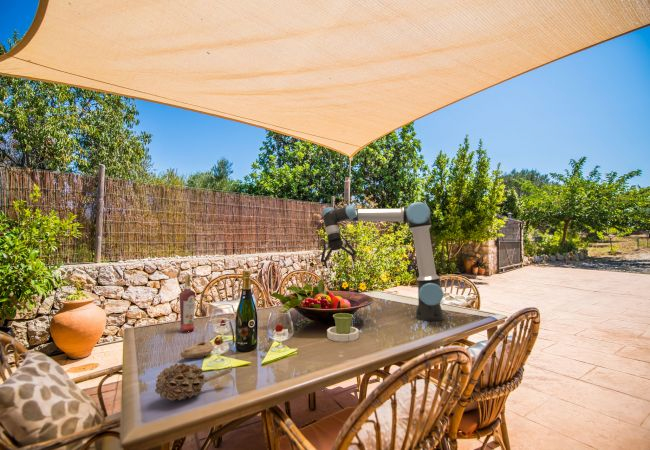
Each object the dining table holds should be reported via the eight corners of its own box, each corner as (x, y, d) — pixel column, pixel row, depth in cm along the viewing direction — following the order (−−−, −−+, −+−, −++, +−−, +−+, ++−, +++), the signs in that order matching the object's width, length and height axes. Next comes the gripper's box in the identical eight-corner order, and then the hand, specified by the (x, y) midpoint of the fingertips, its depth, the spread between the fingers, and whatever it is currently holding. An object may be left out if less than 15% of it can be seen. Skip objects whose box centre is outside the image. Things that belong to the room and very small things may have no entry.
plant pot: (353, 331, 151) (353, 313, 151) (353, 337, 141) (353, 318, 142) (333, 331, 151) (333, 313, 152) (332, 337, 142) (332, 318, 142)
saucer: (363, 334, 149) (363, 328, 149) (350, 343, 136) (350, 336, 136) (335, 330, 156) (335, 324, 156) (321, 338, 143) (321, 332, 143)
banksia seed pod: (158, 414, 82) (158, 376, 83) (151, 400, 90) (151, 364, 90) (238, 389, 96) (238, 355, 97) (226, 378, 104) (226, 347, 104)
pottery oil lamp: (174, 358, 120) (179, 339, 124) (204, 361, 127) (208, 343, 131) (184, 356, 115) (188, 335, 118) (215, 359, 122) (218, 340, 126)
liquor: (185, 334, 152) (185, 276, 153) (175, 332, 156) (176, 275, 157) (198, 330, 158) (198, 274, 160) (189, 328, 162) (189, 273, 164)
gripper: (354, 230, 183) (363, 266, 177) (312, 240, 183) (320, 276, 178) (354, 227, 175) (363, 264, 170) (311, 237, 176) (318, 275, 171)
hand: (341, 270), depth 174 cm, fingers open, 13 cm apart
